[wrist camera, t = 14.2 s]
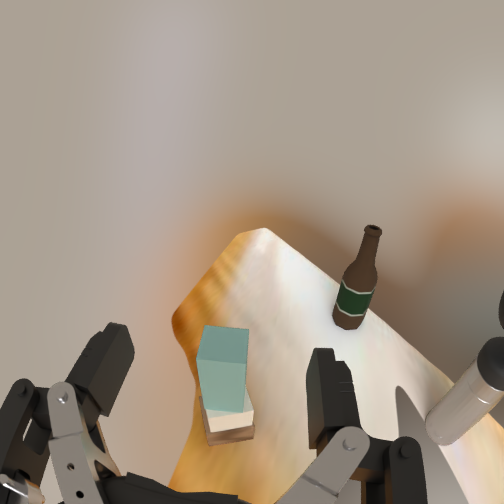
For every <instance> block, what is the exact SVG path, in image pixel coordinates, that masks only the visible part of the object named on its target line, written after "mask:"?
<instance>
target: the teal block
mask: <svg viewBox="0 0 504 504" xmlns="http://www.w3.org/2000/svg"><path fill="white" fill-rule="evenodd" d="M248 339H249V329H239V328H228V327H217V326H208V325H205V326H204V330H203V334H202V338H201V342H200V345H199V349H198V353H197V357H196V362H197V368H198V375H199V381H200V387H201V393H202V398H203V404H204V409H209V410H217V411H226V412H236V413H243V408H244V396H245V385H246V370H247V355H248Z"/></svg>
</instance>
